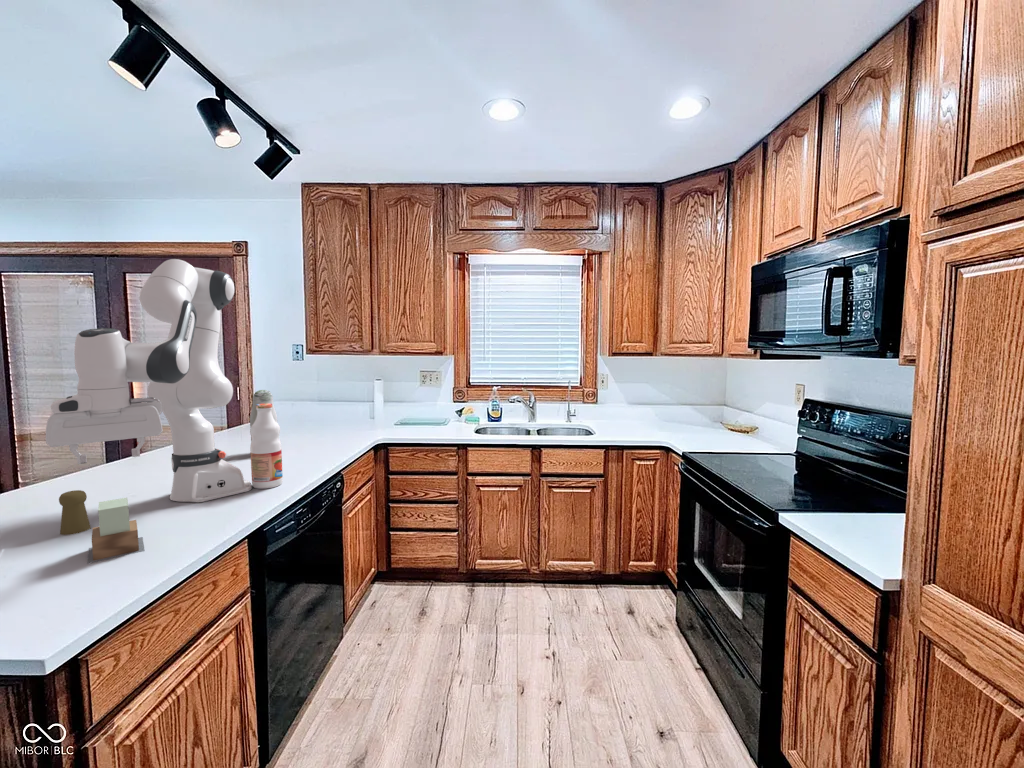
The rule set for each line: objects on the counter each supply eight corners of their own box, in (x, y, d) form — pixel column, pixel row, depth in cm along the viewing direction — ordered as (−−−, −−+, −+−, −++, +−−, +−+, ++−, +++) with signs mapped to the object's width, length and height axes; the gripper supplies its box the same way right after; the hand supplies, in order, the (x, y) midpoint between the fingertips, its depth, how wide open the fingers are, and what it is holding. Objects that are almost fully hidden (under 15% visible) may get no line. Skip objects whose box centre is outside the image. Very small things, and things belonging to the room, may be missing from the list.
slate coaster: (142, 539, 118) (142, 536, 118) (144, 554, 110) (144, 550, 110) (89, 551, 111) (88, 548, 111) (87, 567, 104) (87, 563, 104)
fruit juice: (250, 483, 164) (247, 403, 161) (280, 479, 169) (277, 401, 166) (253, 491, 156) (249, 407, 153) (284, 486, 161) (281, 404, 158)
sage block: (129, 521, 115) (127, 497, 114) (130, 530, 109) (128, 505, 109) (100, 526, 111) (98, 502, 111) (100, 536, 106) (98, 510, 105)
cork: (97, 528, 125) (94, 487, 124) (77, 538, 119) (74, 495, 118) (74, 528, 125) (70, 487, 124) (52, 538, 119) (49, 495, 118)
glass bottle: (246, 455, 203) (243, 390, 200) (268, 450, 212) (266, 388, 209) (261, 457, 198) (258, 391, 196) (283, 452, 208) (280, 389, 205)
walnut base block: (137, 539, 116) (136, 519, 116) (139, 550, 110) (137, 529, 110) (94, 548, 111) (92, 527, 111) (93, 560, 105) (91, 538, 105)
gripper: (160, 395, 116) (164, 450, 118) (44, 402, 103) (50, 464, 105) (162, 397, 112) (166, 455, 113) (40, 406, 98) (47, 470, 100)
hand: (110, 459), depth 109 cm, fingers open, 8 cm apart
